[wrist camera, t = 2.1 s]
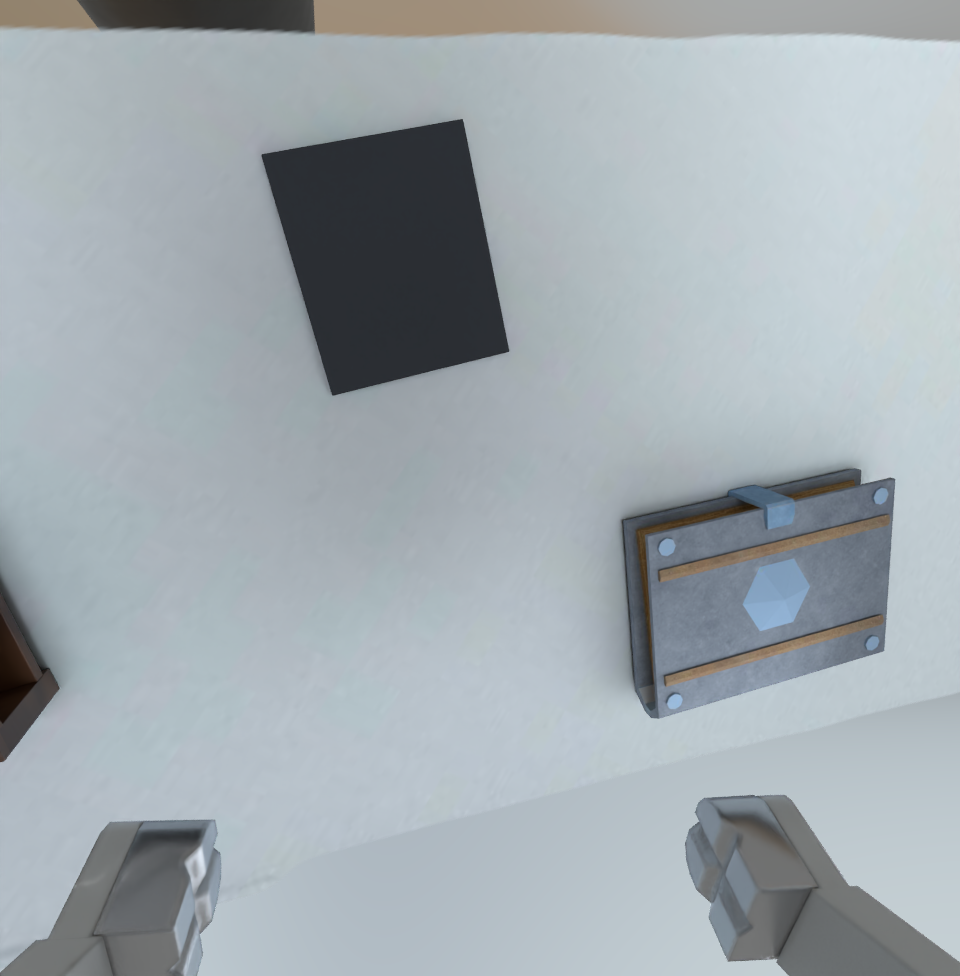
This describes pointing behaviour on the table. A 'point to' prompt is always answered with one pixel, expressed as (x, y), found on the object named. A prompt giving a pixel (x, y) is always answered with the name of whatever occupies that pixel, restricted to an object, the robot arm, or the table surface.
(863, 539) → the book
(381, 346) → the mat
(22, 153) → the table surface
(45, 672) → the shelf
